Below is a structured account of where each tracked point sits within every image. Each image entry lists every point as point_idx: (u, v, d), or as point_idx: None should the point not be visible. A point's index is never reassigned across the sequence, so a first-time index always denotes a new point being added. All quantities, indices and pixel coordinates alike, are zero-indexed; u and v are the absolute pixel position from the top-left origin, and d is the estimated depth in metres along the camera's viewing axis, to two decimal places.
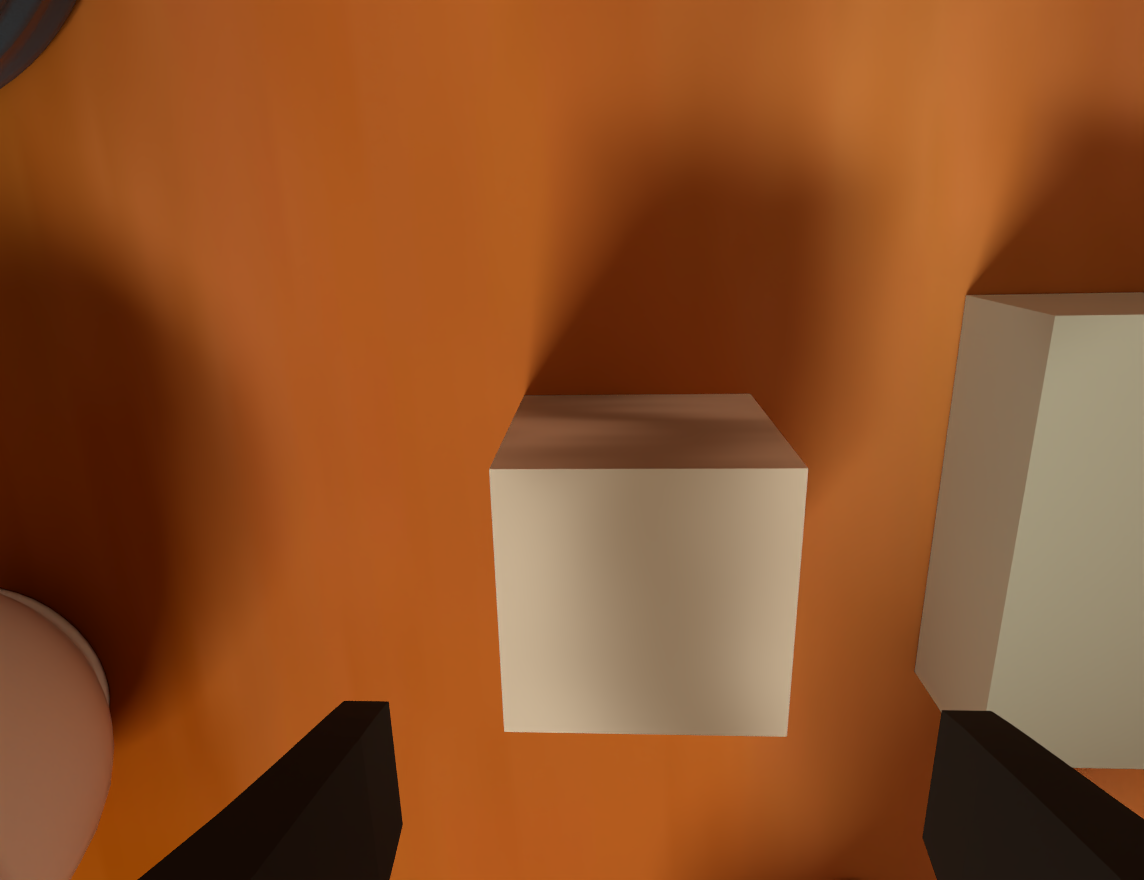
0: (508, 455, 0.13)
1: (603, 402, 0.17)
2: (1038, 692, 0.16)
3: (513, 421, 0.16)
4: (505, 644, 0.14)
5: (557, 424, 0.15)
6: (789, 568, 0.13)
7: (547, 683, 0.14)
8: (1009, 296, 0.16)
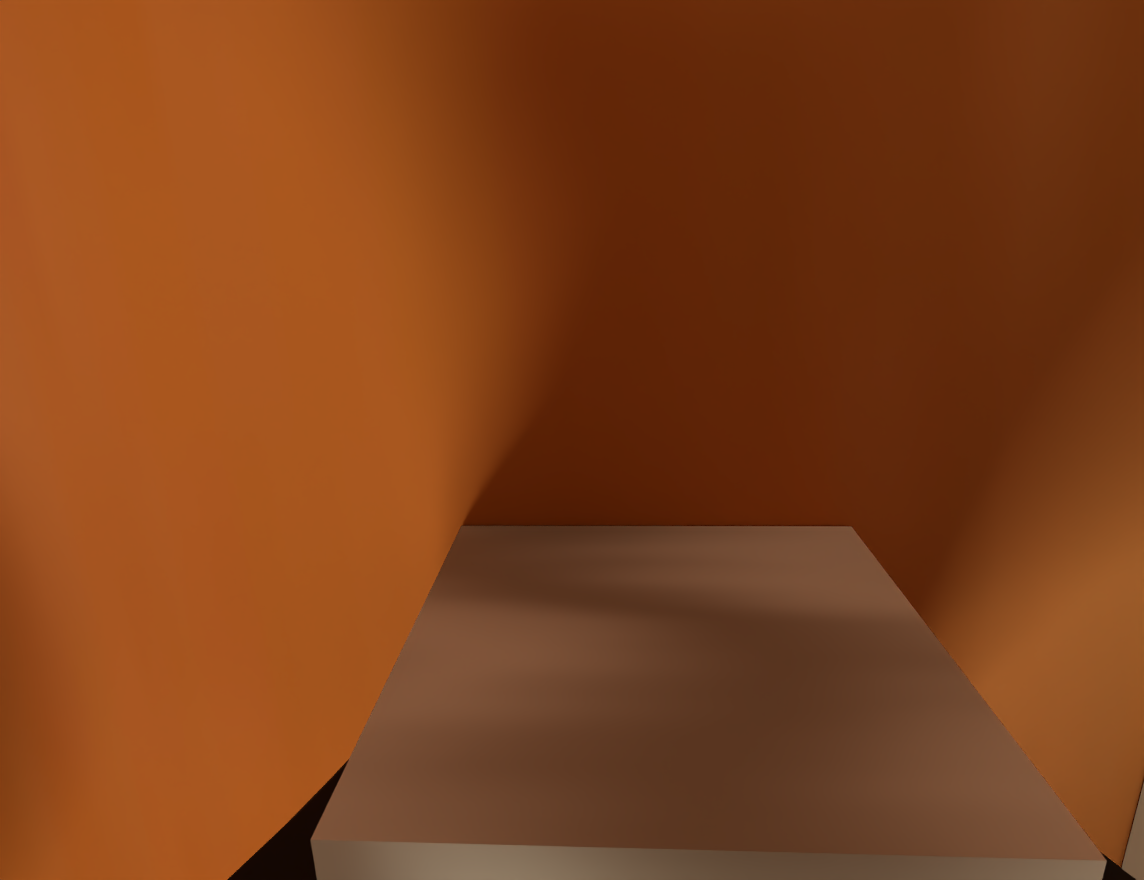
0: (375, 765, 0.06)
1: (596, 552, 0.10)
2: None
3: (421, 614, 0.08)
4: None
5: (503, 630, 0.08)
6: None
7: None
8: None
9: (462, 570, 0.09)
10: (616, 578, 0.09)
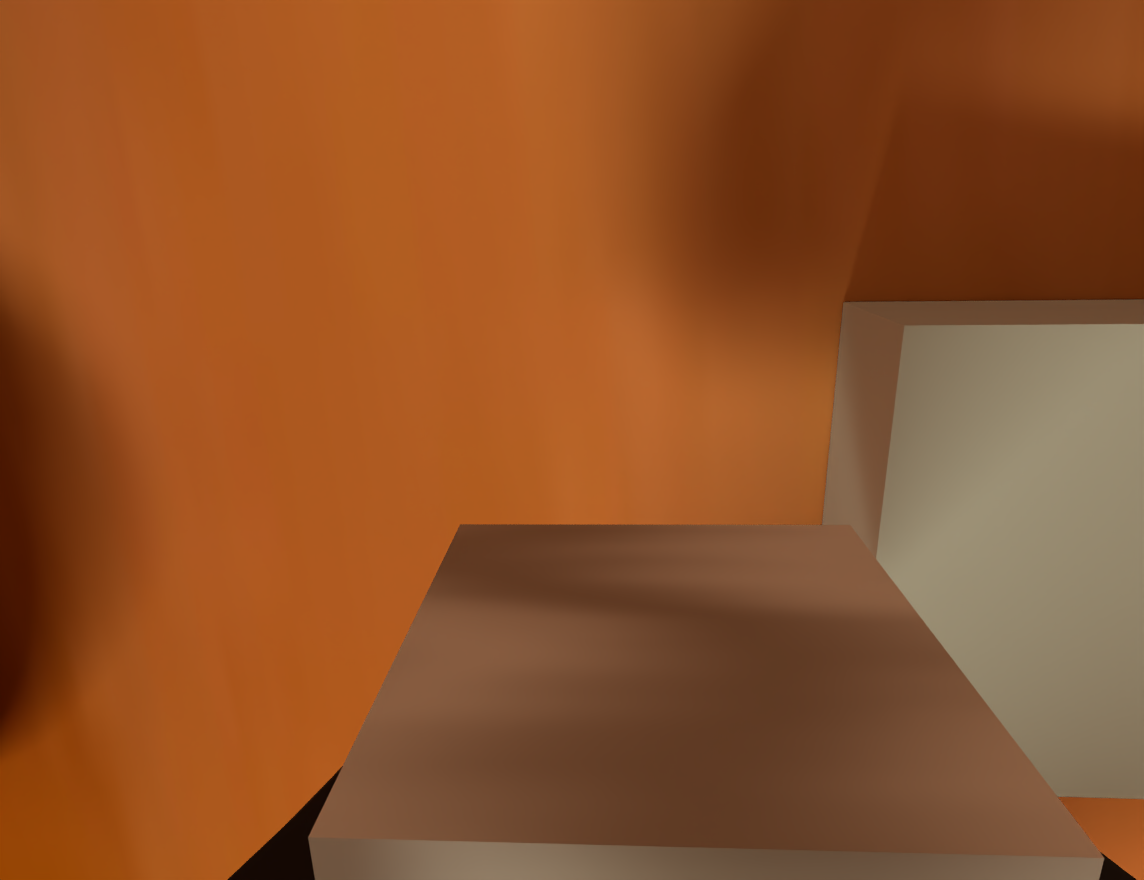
0: (373, 762, 0.06)
1: (595, 550, 0.10)
2: None
3: (420, 613, 0.08)
4: None
5: (502, 628, 0.08)
6: None
7: None
8: (885, 303, 0.16)
9: (461, 568, 0.09)
10: (615, 576, 0.09)
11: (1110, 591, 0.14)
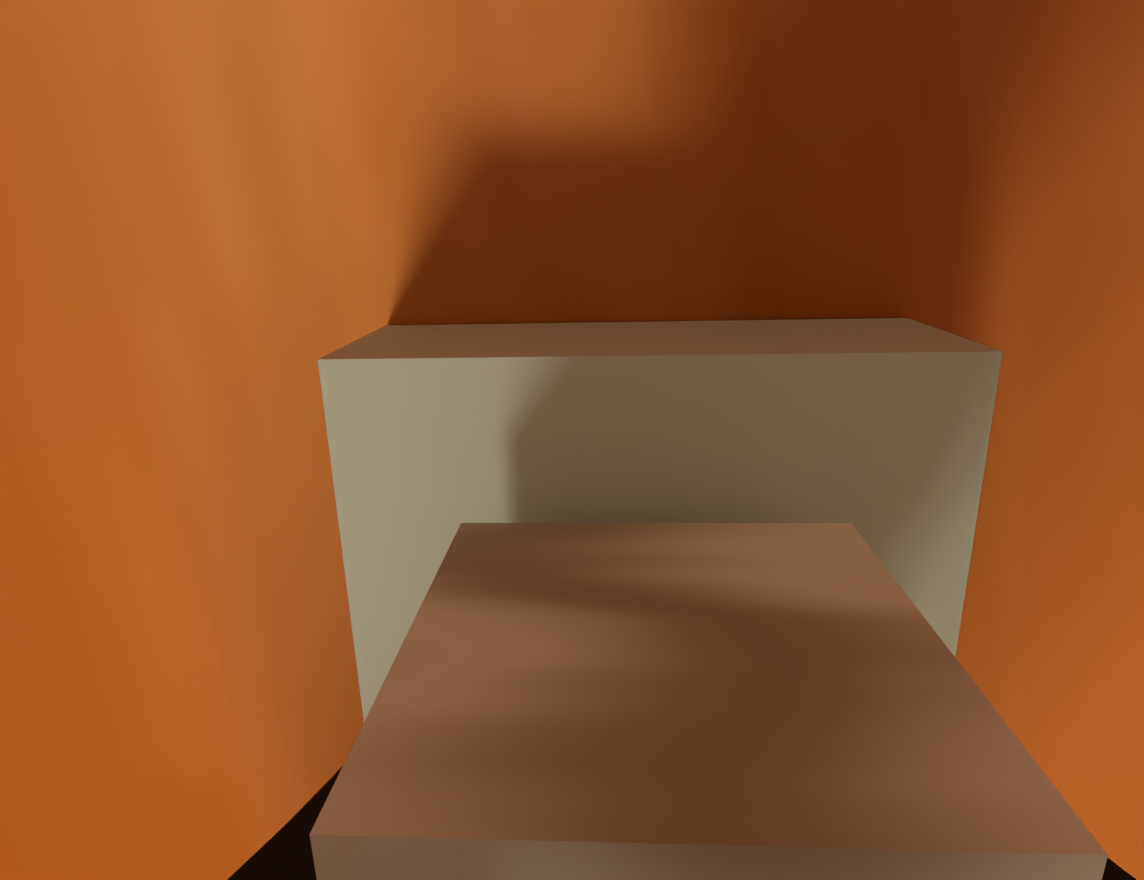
0: (374, 760, 0.06)
1: (596, 548, 0.10)
2: None
3: (421, 611, 0.08)
4: None
5: (503, 626, 0.08)
6: None
7: None
8: (419, 327, 0.14)
9: (461, 567, 0.09)
10: (616, 574, 0.09)
11: None
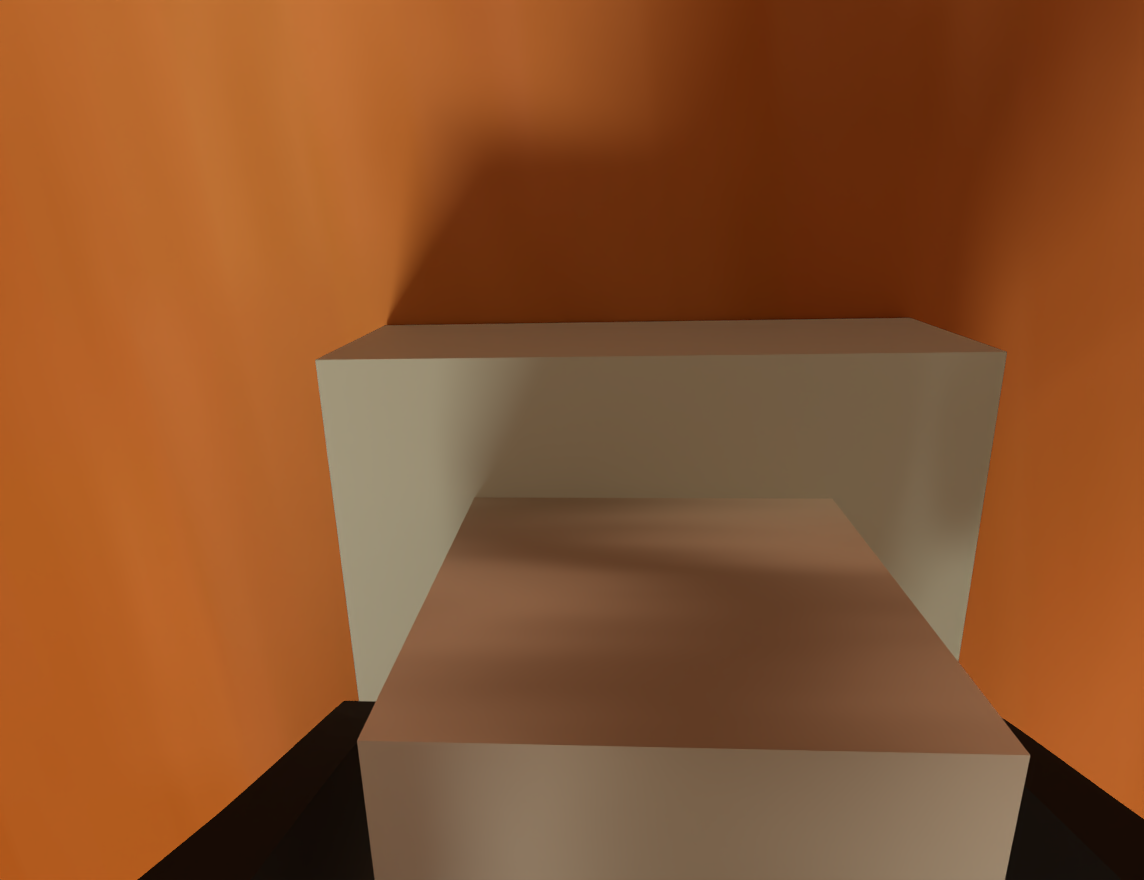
0: (408, 686, 0.07)
1: (598, 519, 0.10)
2: None
3: (441, 570, 0.09)
4: None
5: (516, 583, 0.09)
6: None
7: None
8: (418, 327, 0.14)
9: (476, 534, 0.10)
10: (616, 541, 0.10)
11: None
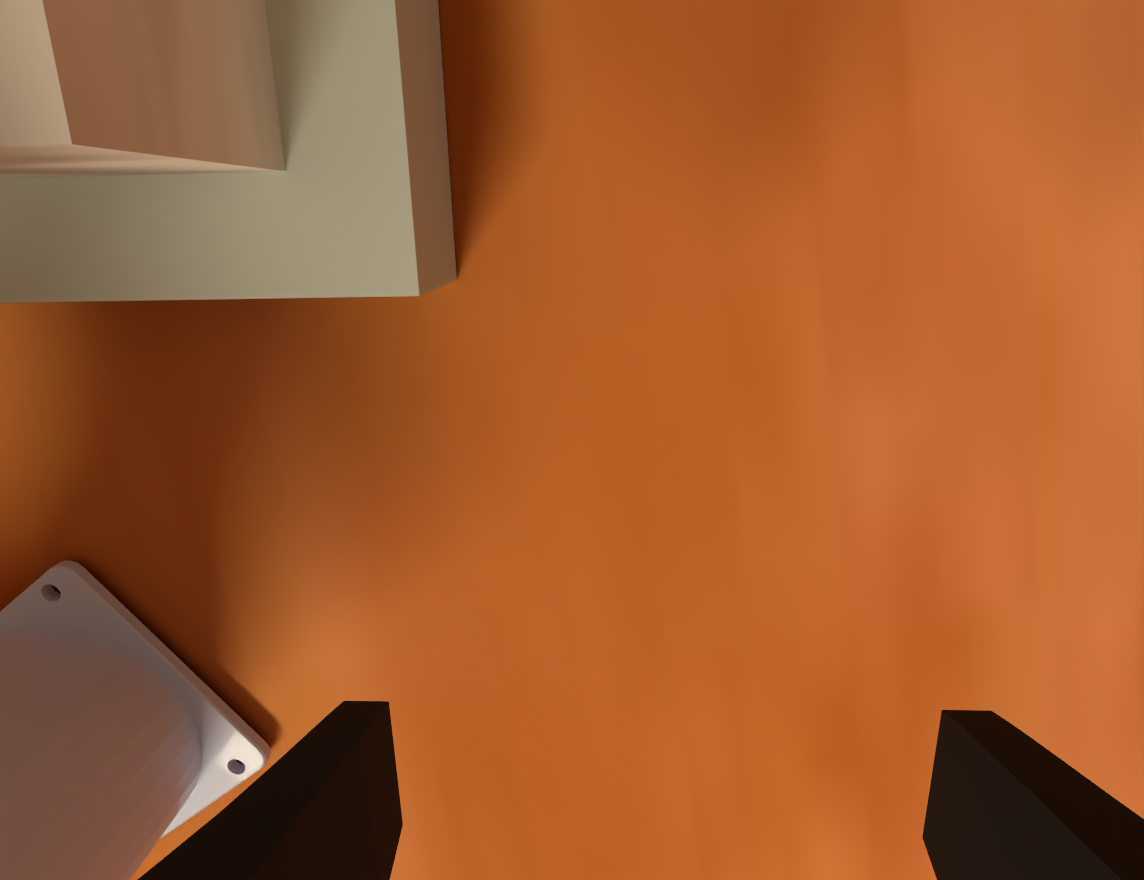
0: None
1: None
2: None
3: None
4: None
5: None
6: None
7: None
8: None
9: None
10: None
11: None
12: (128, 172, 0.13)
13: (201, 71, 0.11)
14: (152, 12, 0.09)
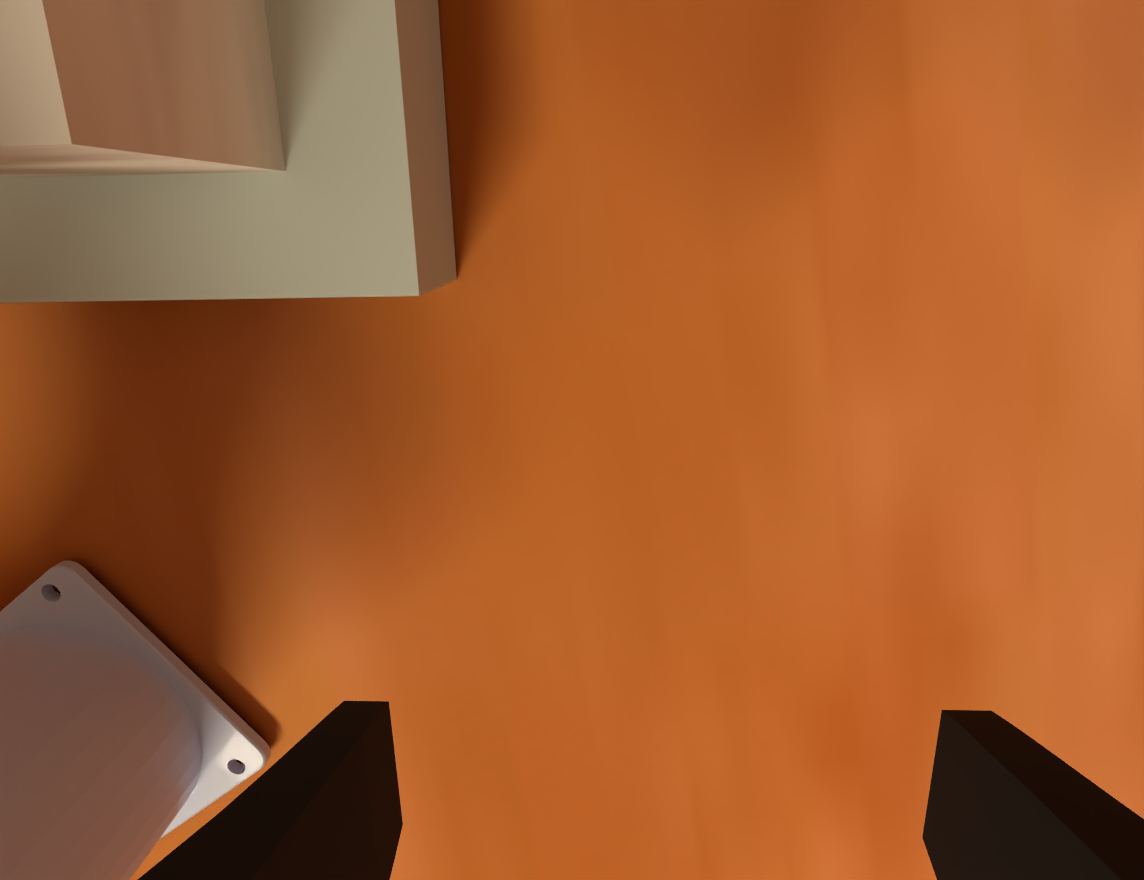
0: None
1: None
2: None
3: None
4: None
5: None
6: None
7: None
8: None
9: None
10: None
11: None
12: (128, 172, 0.13)
13: (201, 71, 0.11)
14: (152, 12, 0.09)
